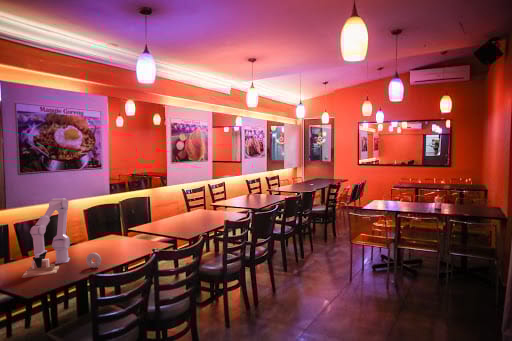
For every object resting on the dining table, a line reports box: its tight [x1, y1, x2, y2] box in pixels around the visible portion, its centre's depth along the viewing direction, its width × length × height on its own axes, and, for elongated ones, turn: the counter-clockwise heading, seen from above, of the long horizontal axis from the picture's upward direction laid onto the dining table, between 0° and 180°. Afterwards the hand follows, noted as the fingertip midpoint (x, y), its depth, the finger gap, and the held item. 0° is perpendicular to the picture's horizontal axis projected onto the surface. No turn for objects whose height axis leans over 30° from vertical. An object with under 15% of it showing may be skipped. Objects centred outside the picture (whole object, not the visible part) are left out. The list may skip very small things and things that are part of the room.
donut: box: [85, 252, 102, 269], centre depth 221 cm, size 10×4×10 cm, turn 83°
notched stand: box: [21, 263, 60, 279], centre depth 216 cm, size 12×18×4 cm, turn 111°
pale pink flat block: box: [31, 258, 50, 269], centre depth 216 cm, size 2×9×7 cm, turn 110°
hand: (40, 265), depth 216 cm, fingers open, 7 cm apart
